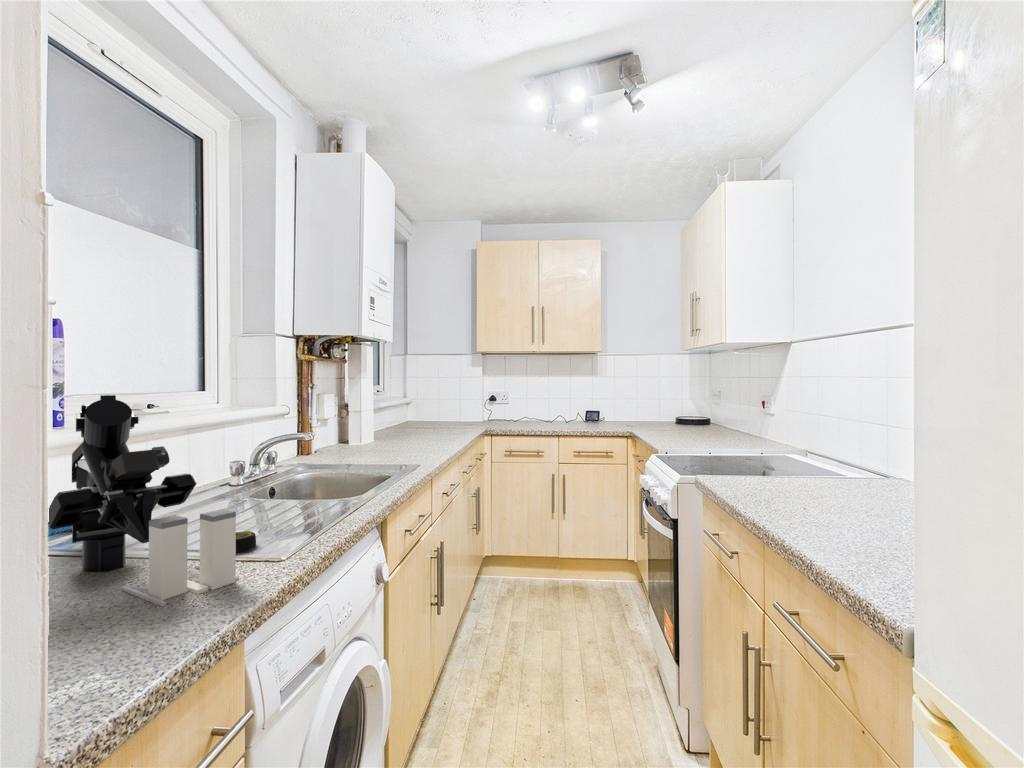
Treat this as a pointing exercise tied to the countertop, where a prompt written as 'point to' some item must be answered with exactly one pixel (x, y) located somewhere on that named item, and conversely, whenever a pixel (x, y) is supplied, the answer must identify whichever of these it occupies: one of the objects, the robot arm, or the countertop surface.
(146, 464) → the robot arm
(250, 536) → the tape measure
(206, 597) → the countertop surface
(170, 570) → the tab
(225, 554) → the tab
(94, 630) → the countertop surface
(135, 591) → the switch board
